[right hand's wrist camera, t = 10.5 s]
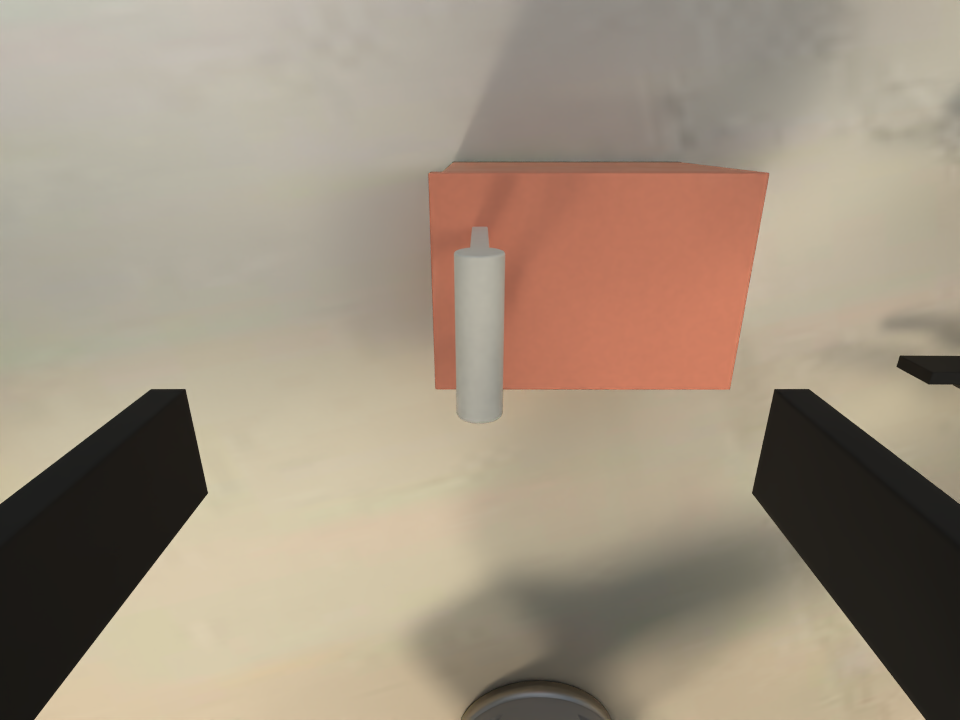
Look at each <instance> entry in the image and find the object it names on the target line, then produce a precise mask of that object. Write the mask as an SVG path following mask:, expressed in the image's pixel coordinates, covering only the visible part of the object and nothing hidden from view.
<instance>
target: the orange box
mask: <svg viewBox="0 0 960 720" xmlns="http://www.w3.org/2000/svg"><path fill="white" fill-rule="evenodd" d="M428 178H429V208H430V239H431V269H432V300H433V330H434V361H435V388H436V389H456V403H457V415H458V417H459V418H460V419H462V420H464V421H466V422H470V423H479V424H481V423H489V422H493V421H495V420H497V419H499V418H500V417H501V415H502V413H503V389H730V385H731V380H732V374H733V369H734V363H735V358H736V352H737V347H738V342H739V336H740V331H741V325H742V320H743V314H744V309H745V303H746V298H747V293H748V287H749V282H750V276H751V271H752V265H753V260H754V254H755V249H756V243H757V238H758V233H759V227H760V222H761V216H762V211H763V205H764V200H765V194H766V189H767V183H768V178H769V173H765V172H430V173H429V174H428Z"/></svg>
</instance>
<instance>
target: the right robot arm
mask: <svg viewBox="0 0 960 720" xmlns="http://www.w3.org/2000/svg"><path fill="white" fill-rule="evenodd" d="M207 494H208V491H207V487H206V482H205V477H204V473H203V468H202V463H201V459H200V454H199V450H198V445H197V440H196V436H195V431H194V426H193V422H192V417H191V413H190V408H189V403H188V399H187V394H186V389H151V390H149V391H148V392H147V393H145V394H144V395H143V396H142V397H140V398H139V399H138V400H136V401H135V402H134V403H132V404H131V405H130V406H128V407H127V408H126V409H124V410H123V411H122V412H121V413H119V414H118V415H117V416H115V417H114V418H113V419H111V420H110V421H109V422H107V423H106V424H105V425H104V426H102V427H101V428H100V429H98V430H97V431H96V432H94V433H93V434H92V435H90V436H89V437H88V438H86V439H85V440H84V441H83V442H81V443H80V444H79V445H77V446H76V447H75V448H73V449H72V450H71V451H69V452H68V453H67V454H65V455H64V456H63V457H62V458H60V459H59V460H58V461H56V462H55V463H54V464H52V465H51V466H50V467H48V468H47V469H46V470H44V471H43V472H42V473H41V474H39V475H38V476H37V477H35V478H34V479H33V480H31V481H30V482H29V483H27V484H26V485H25V486H23V487H22V488H21V489H20V490H18V491H17V492H16V493H14V494H13V495H12V496H10V497H9V498H8V499H6V500H5V501H4V502H2V503H1V504H0V720H34V719H35V718H36V717H37V715H38V714H39V713H40V711H41V710H42V709H43V708H44V706H45V705H46V704H47V702H48V701H49V700H50V698H51V697H52V696H53V694H54V693H55V692H56V691H57V689H58V688H59V687H60V685H61V684H62V683H63V681H64V680H65V679H66V678H67V676H68V675H69V674H70V672H71V671H72V670H73V668H74V667H75V666H76V664H77V663H78V662H79V661H80V659H81V658H82V657H83V655H84V654H85V653H86V651H87V650H88V649H89V648H90V646H91V645H92V644H93V642H94V641H95V640H96V638H97V637H98V636H99V635H100V633H101V632H102V631H103V629H104V628H105V627H106V625H107V624H108V623H109V621H110V620H111V619H112V618H113V616H114V615H115V614H116V612H117V611H118V610H119V608H120V607H121V606H122V605H123V603H124V602H125V601H126V599H127V598H128V597H129V595H130V594H131V593H132V591H133V590H134V589H135V588H136V586H137V585H138V584H139V582H140V581H141V580H142V578H143V577H144V576H145V575H146V573H147V572H148V571H149V569H150V568H151V567H152V565H153V564H154V563H155V562H156V560H157V559H158V558H159V556H160V555H161V554H162V552H163V551H164V550H165V548H166V547H167V546H168V545H169V543H170V542H171V541H172V539H173V538H174V537H175V535H176V534H177V533H178V532H179V530H180V529H181V528H182V526H183V525H184V524H185V522H186V521H187V520H188V519H189V517H190V516H191V515H192V513H193V512H194V511H195V509H196V508H197V507H198V505H199V504H200V503H201V502H202V500H203V499H204V498H205V496H206V495H207ZM752 494H753V495H754V496H755V498H756V499H757V500H758V502H759V503H760V504H761V505H762V507H763V508H764V509H765V511H766V512H767V513H768V515H769V516H770V517H771V519H772V520H773V521H774V522H775V524H776V525H777V526H778V528H779V529H780V530H781V532H782V533H783V534H784V535H785V537H786V538H787V539H788V541H789V542H790V543H791V545H792V546H793V547H794V548H795V550H796V551H797V552H798V554H799V555H800V556H801V558H802V559H803V560H804V562H805V563H806V564H807V565H808V567H809V568H810V569H811V571H812V572H813V573H814V575H815V576H816V577H817V578H818V580H819V581H820V582H821V584H822V585H823V586H824V588H825V589H826V590H827V592H828V593H829V594H830V595H831V597H832V598H833V599H834V601H835V602H836V603H837V605H838V606H839V607H840V608H841V610H842V611H843V612H844V614H845V615H846V616H847V618H848V619H849V620H850V621H851V623H852V624H853V625H854V627H855V628H856V629H857V631H858V632H859V633H860V635H861V636H862V637H863V638H864V640H865V641H866V642H867V644H868V645H869V646H870V648H871V649H872V650H873V651H874V653H875V654H876V655H877V657H878V658H879V659H880V661H881V662H882V663H883V664H884V666H885V667H886V668H887V670H888V671H889V672H890V674H891V675H892V676H893V678H894V679H895V680H896V681H897V683H898V684H899V685H900V687H901V688H902V689H903V691H904V692H905V693H906V694H907V696H908V697H909V698H910V700H911V701H912V702H913V704H914V705H915V706H916V708H917V709H918V710H919V711H920V713H921V714H922V715H923V717H924V718H925V719H926V720H960V504H959V503H958V502H956V501H955V500H954V499H952V498H951V497H950V496H948V495H947V494H946V493H944V492H943V491H942V490H940V489H939V488H938V487H937V486H935V485H934V484H933V483H931V482H930V481H929V480H927V479H926V478H925V477H923V476H922V475H921V474H919V473H918V472H917V471H916V470H914V469H913V468H912V467H910V466H909V465H908V464H906V463H905V462H904V461H902V460H901V459H900V458H898V457H897V456H896V455H895V454H893V453H892V452H891V451H889V450H888V449H887V448H885V447H884V446H883V445H881V444H880V443H879V442H877V441H876V440H875V439H874V438H872V437H871V436H870V435H868V434H867V433H866V432H864V431H863V430H862V429H860V428H859V427H858V426H856V425H855V424H854V423H853V422H851V421H850V420H849V419H847V418H846V417H845V416H843V415H842V414H841V413H839V412H838V411H837V410H836V409H834V408H833V407H832V406H830V405H829V404H828V403H826V402H825V401H824V400H822V399H821V398H820V397H818V396H817V395H816V394H815V393H813V392H812V391H811V390H809V389H774V394H773V399H772V403H771V408H770V413H769V417H768V422H767V426H766V431H765V436H764V440H763V445H762V450H761V454H760V459H759V463H758V468H757V473H756V477H755V482H754V486H753V491H752Z"/></svg>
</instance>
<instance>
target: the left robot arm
mask: <svg viewBox="0 0 960 720" xmlns="http://www.w3.org/2000/svg"><path fill="white" fill-rule="evenodd" d="M897 367H898V368H900V369H902V370H903V371H905V372H907V373H909V374H911V375H913V376H914V377H916V378H918V379H920V380H922V381H924V382H925V383H927V384H953V385H954V386H956V387H958V388H960V356H900V357H899V360H898V364H897ZM461 720H611V719H610V716H609V714H608V712H607V711H606V709H605V708H604V707H603V705H602V704H601V703H600V702H599V701H597V700H596V699H595V698H594V697H592V696H591V695H589V694H588V693H586V692H584V691H582V690H580V689H578V688H575V687H573V686H570V685H566V684H562V683H557V682H550V681H526V682H519V683H514V684H510V685H506V686H503V687H500V688H497V689H495V690H493V691H491V692H489V693H487V694H485V695H484V696H482V697H480V698H479V699H478V700H476V701H475V702H474V703H473V704H472V705H471V706H470V707H469V708H468V709H467V710H466V712H465V713H464V715H463V717H462V719H461Z"/></svg>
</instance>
